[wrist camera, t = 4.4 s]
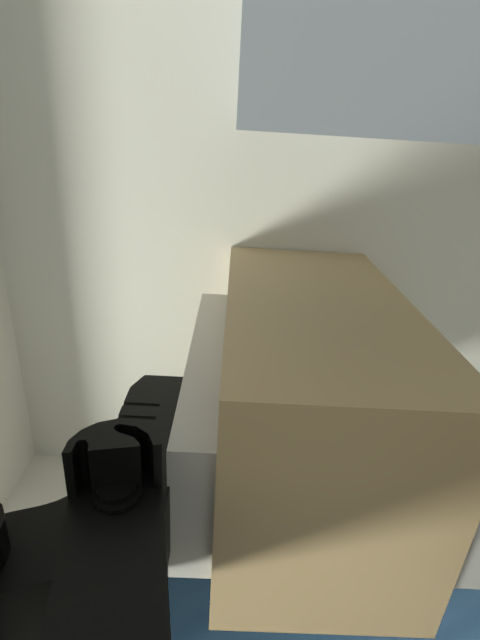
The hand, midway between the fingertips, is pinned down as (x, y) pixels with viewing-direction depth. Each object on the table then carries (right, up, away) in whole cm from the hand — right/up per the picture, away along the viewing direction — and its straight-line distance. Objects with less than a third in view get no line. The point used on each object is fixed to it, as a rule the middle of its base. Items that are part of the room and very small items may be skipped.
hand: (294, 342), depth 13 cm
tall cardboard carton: (0, +1, +1) cm, 1 cm away
